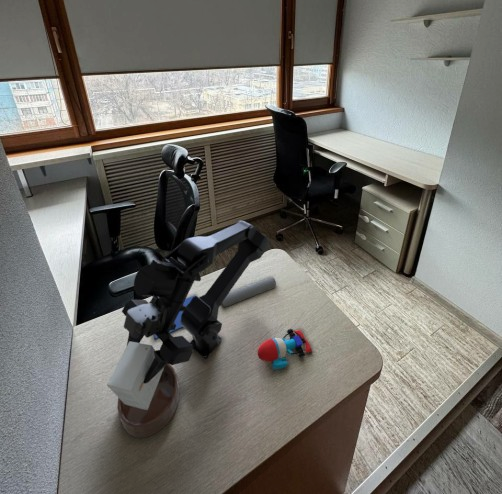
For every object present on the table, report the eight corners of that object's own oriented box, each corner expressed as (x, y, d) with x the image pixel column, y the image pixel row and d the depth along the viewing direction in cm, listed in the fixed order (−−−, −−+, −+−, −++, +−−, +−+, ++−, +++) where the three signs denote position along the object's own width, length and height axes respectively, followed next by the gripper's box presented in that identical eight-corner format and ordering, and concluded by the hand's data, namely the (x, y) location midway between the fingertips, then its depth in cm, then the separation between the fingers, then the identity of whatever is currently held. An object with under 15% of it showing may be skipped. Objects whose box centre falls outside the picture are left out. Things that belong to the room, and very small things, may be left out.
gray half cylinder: (218, 297, 88) (218, 293, 87) (271, 277, 95) (271, 274, 95) (222, 308, 84) (222, 304, 84) (277, 286, 92) (277, 282, 91)
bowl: (190, 393, 64) (188, 381, 62) (144, 454, 54) (140, 443, 52) (156, 361, 70) (154, 349, 68) (110, 410, 61) (105, 399, 59)
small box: (144, 361, 63) (129, 339, 58) (165, 366, 62) (152, 344, 57) (124, 405, 57) (105, 385, 51) (147, 411, 55) (131, 391, 50)
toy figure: (297, 332, 78) (251, 346, 72) (301, 320, 77) (254, 334, 70) (312, 359, 72) (262, 377, 66) (317, 347, 70) (266, 365, 64)
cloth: (194, 295, 89) (194, 295, 89) (203, 318, 81) (203, 317, 81) (150, 313, 83) (150, 312, 83) (155, 339, 75) (154, 338, 75)
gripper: (121, 272, 59) (80, 346, 55) (174, 322, 48) (127, 417, 45) (158, 277, 68) (125, 340, 64) (209, 319, 57) (172, 399, 53)
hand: (135, 369), depth 56 cm, fingers closed on small box, 7 cm apart
